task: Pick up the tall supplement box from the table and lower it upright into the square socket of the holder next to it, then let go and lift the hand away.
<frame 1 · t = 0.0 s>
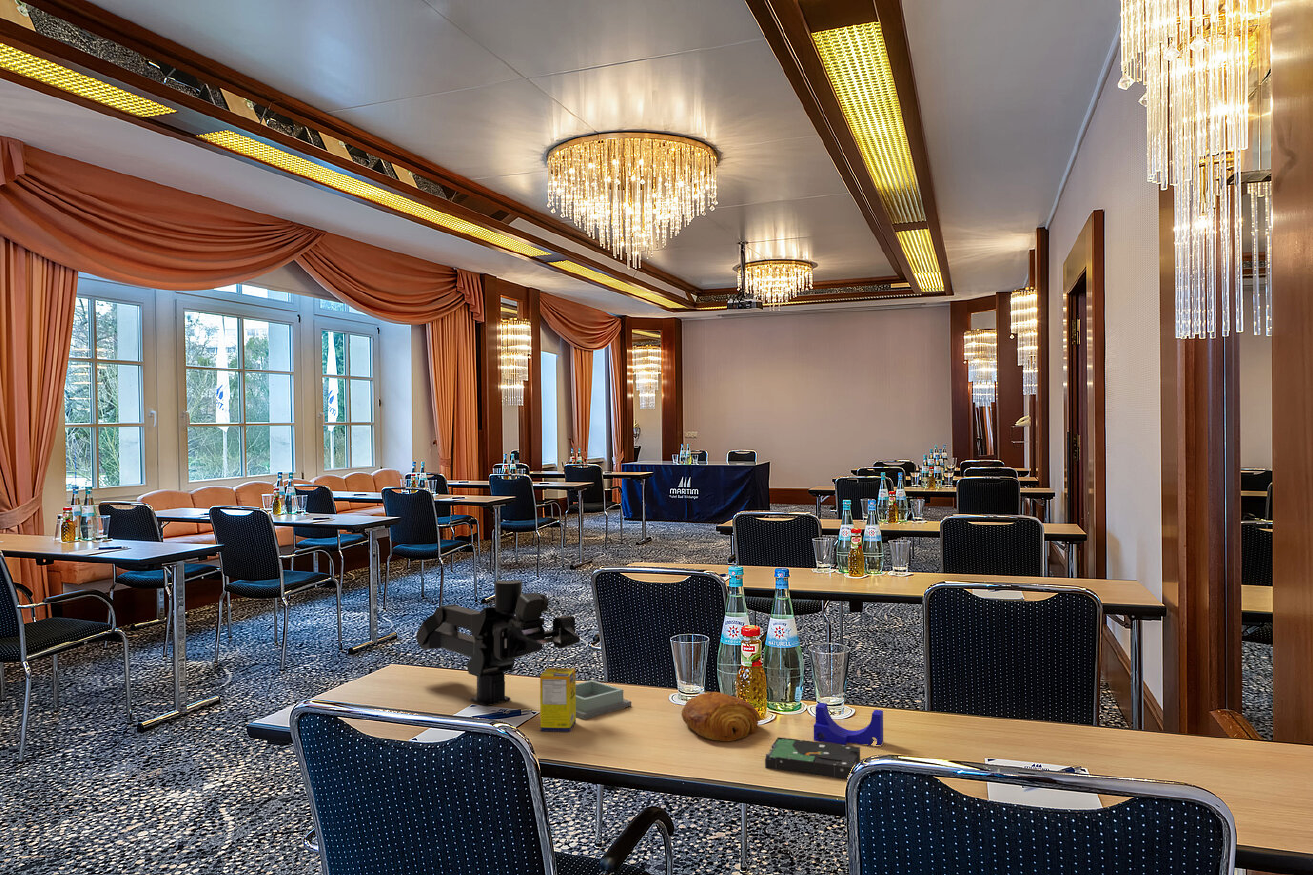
hand: (560, 643, 160), 17 cm above the table, tool horizontal, fingers open, 9 cm apart
socket holder: (588, 705, 174), on the table
blue u-shaped cradle: (848, 743, 152), on the table
disk drive: (813, 767, 141), on the table
supplement box: (558, 728, 160), on the table
croissant: (721, 731, 159), on the table
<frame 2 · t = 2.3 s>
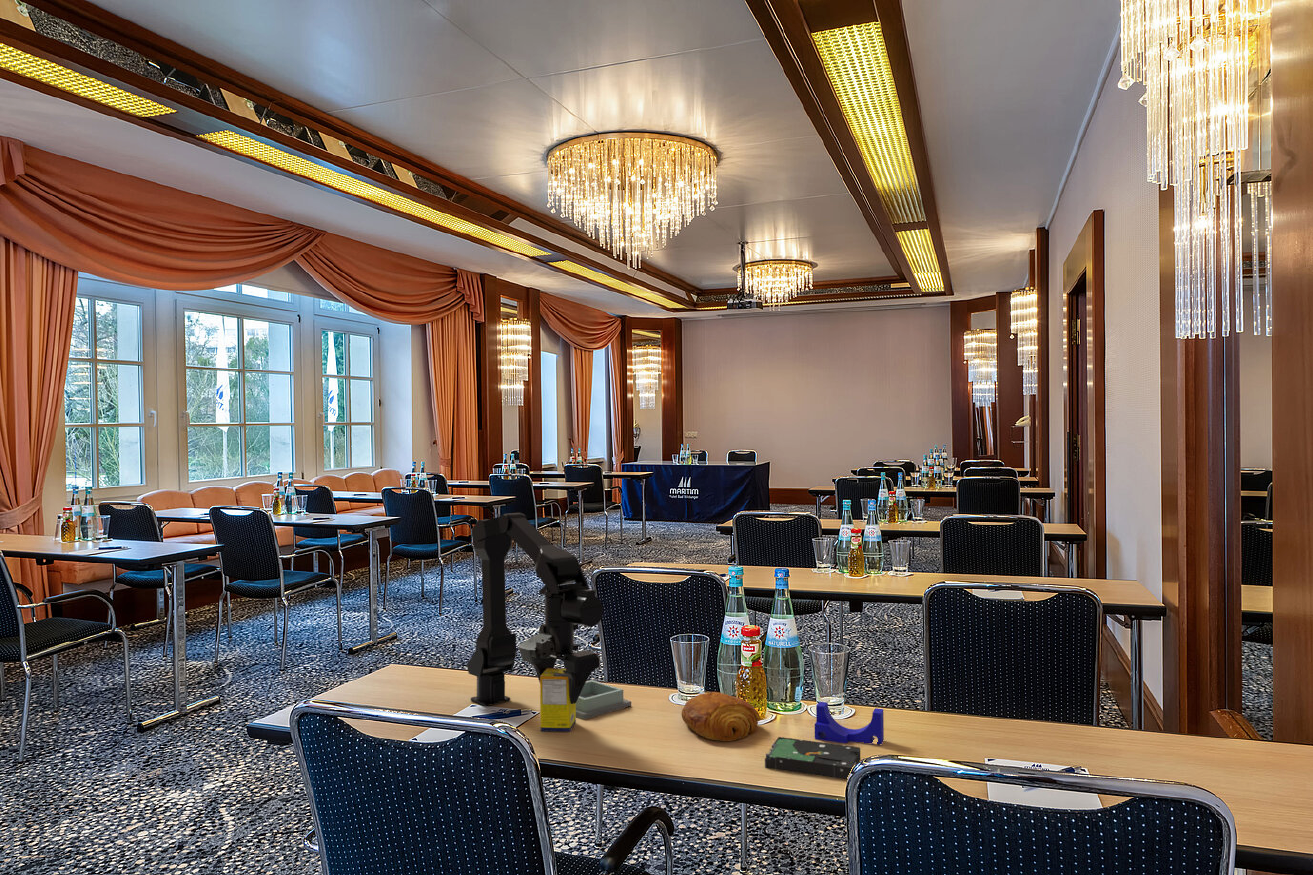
hand: (559, 698, 160), 6 cm above the table, tool pointing down, fingers open, 9 cm apart
supplement box: (558, 728, 160), on the table, touching gripper
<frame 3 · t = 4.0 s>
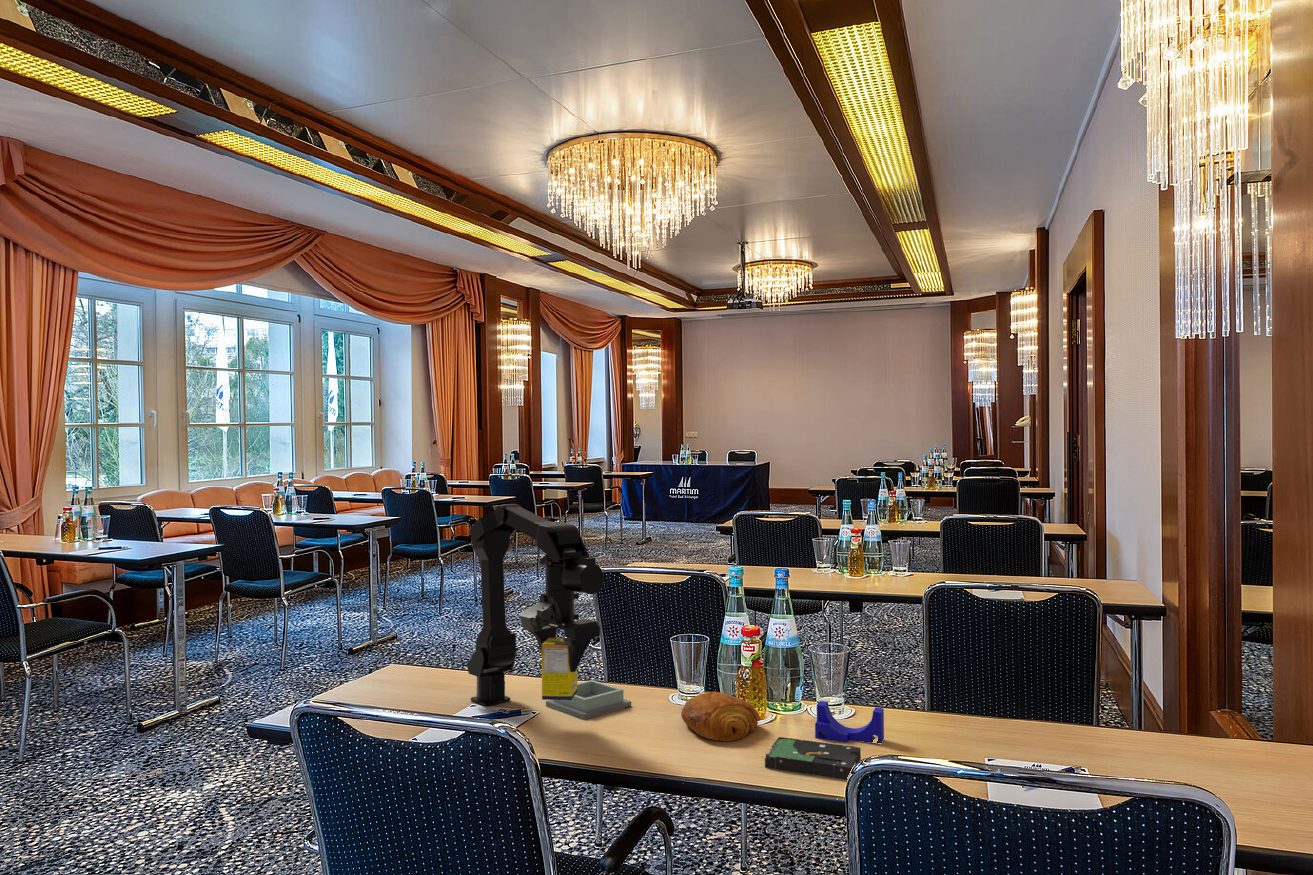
hand: (559, 667, 160), 12 cm above the table, tool pointing down, fingers closed on supplement box, 8 cm apart
supplement box: (559, 697, 160), point 6 cm above the table, touching gripper
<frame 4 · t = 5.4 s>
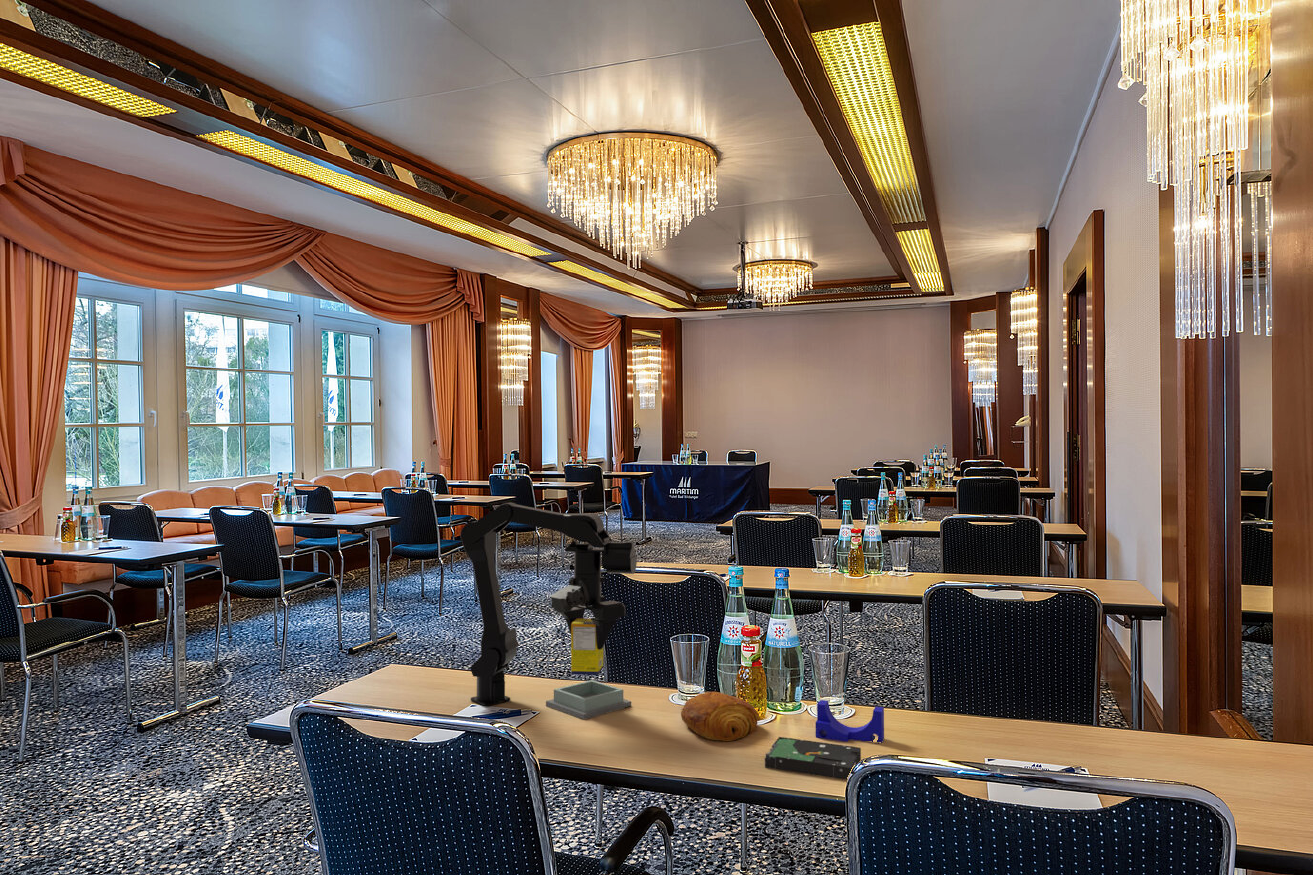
hand: (587, 645, 174), 13 cm above the table, tool pointing down, fingers closed on supplement box, 8 cm apart
supplement box: (587, 672, 174), point 7 cm above the table, touching gripper
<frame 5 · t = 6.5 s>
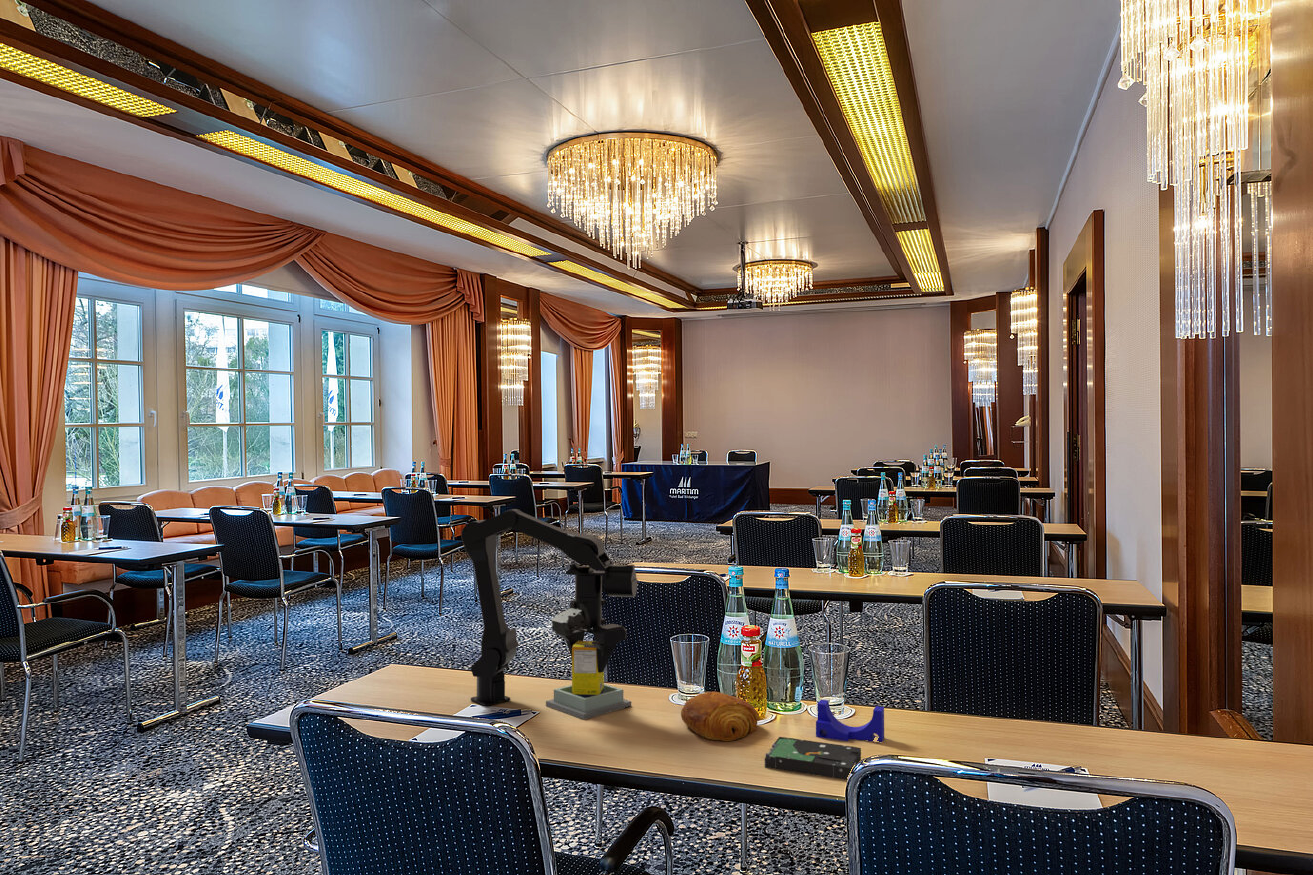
hand: (588, 668, 174), 8 cm above the table, tool pointing down, fingers closed on supplement box, 8 cm apart
supplement box: (588, 695, 174), point 2 cm above the table, touching gripper
when the fingers open (8 cm above the table, at t = 7.4 s): supplement box drops 1 cm, resting on socket holder.
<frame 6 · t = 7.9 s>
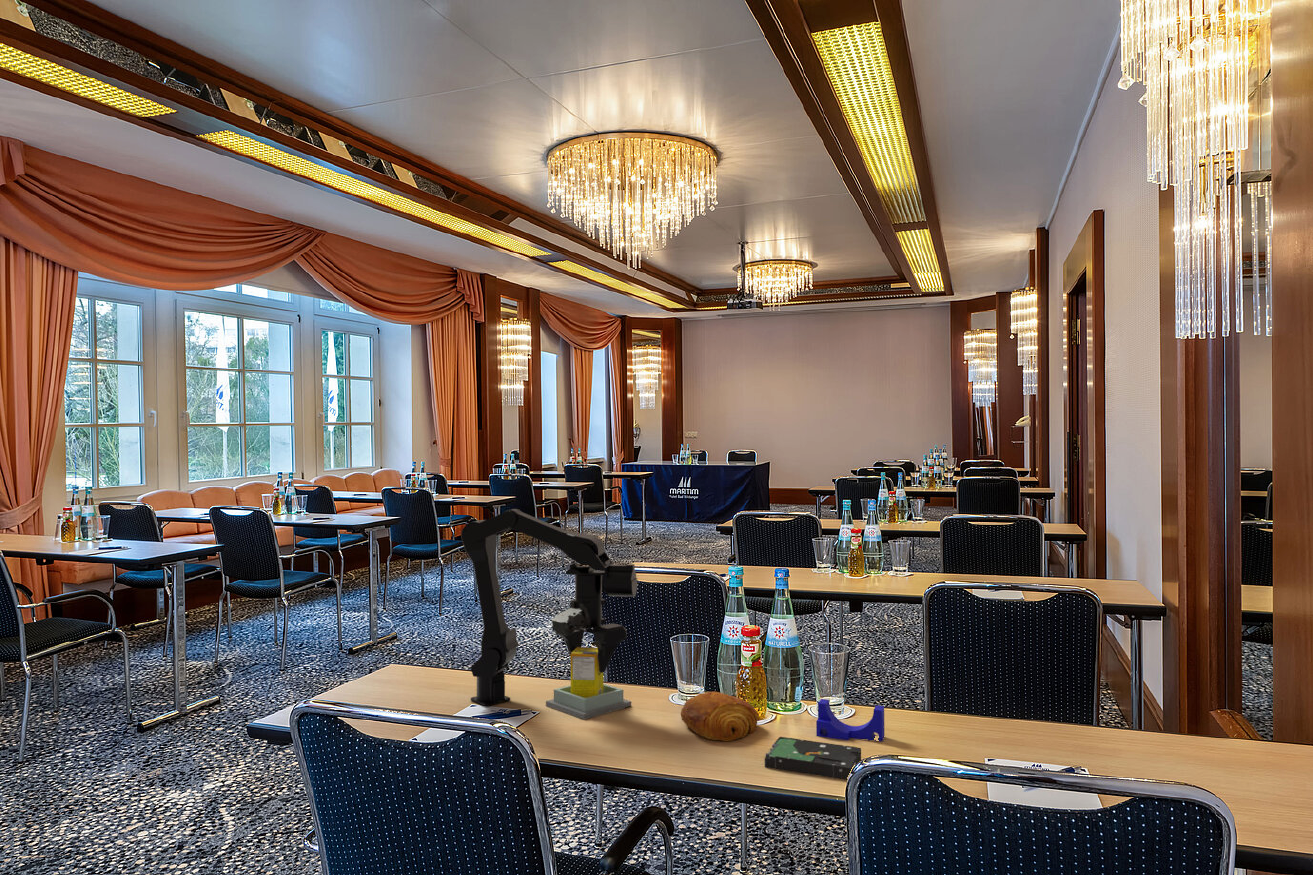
hand: (588, 668, 174), 8 cm above the table, tool pointing down, fingers open, 9 cm apart
supplement box: (587, 702, 174), point 1 cm above the table, touching socket holder
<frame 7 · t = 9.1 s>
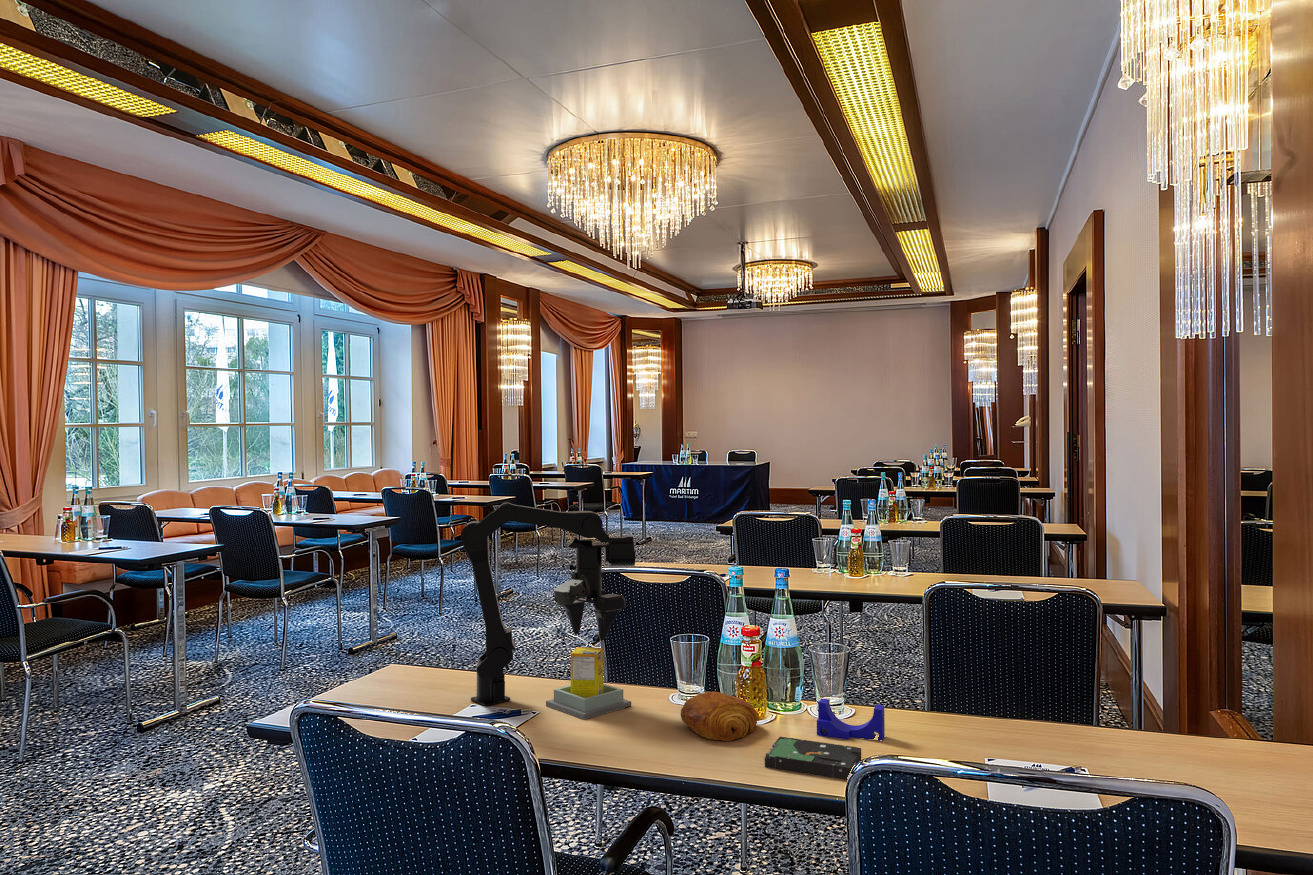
hand: (589, 637, 182), 13 cm above the table, tool pointing down, fingers open, 9 cm apart
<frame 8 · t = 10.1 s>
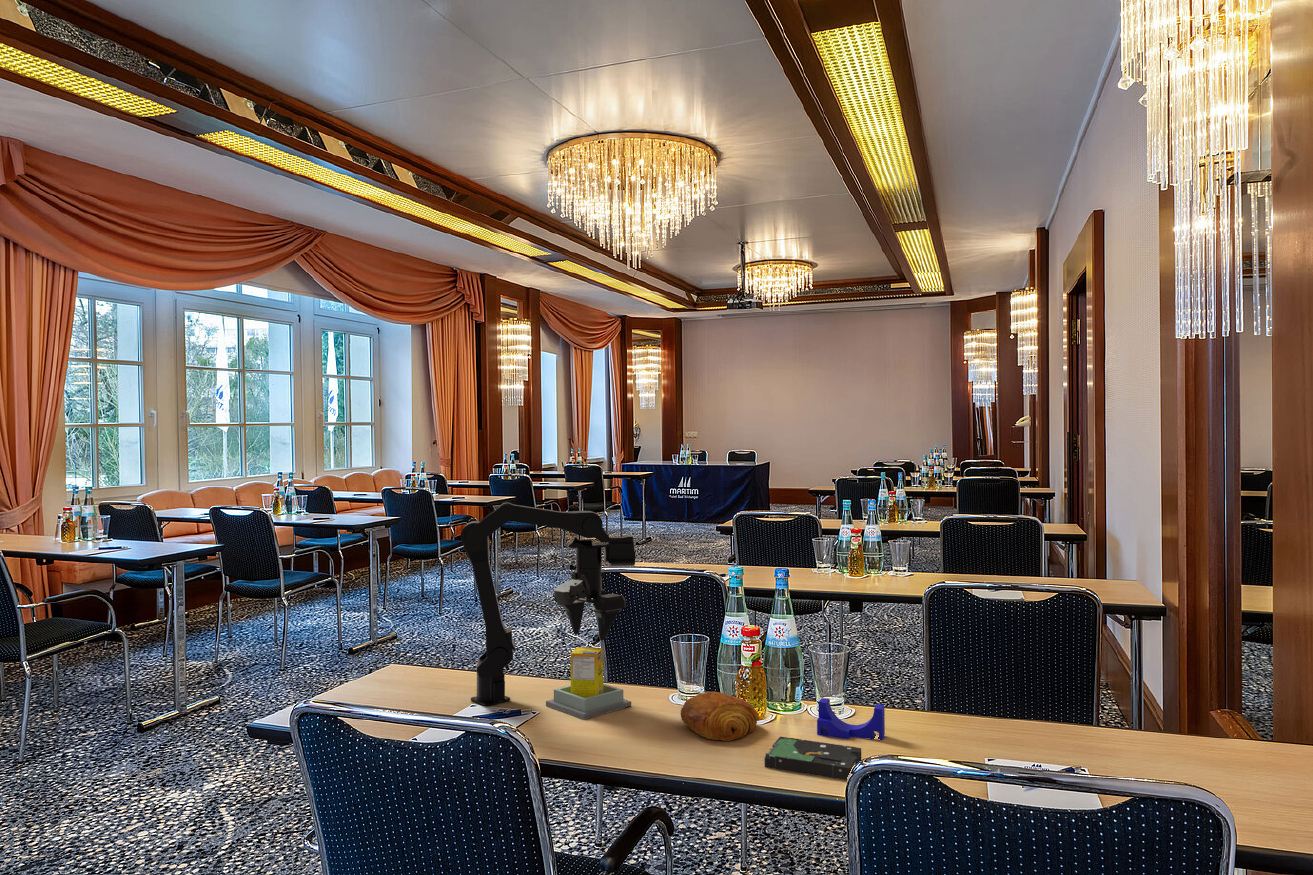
hand: (589, 637, 182), 13 cm above the table, tool pointing down, fingers open, 9 cm apart
at the end: supplement box 0.3 cm off-centre on the socket holder, point 0.8 cm above the socket holder's base; supplement box tilted 0°; the gripper is holding nothing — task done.
